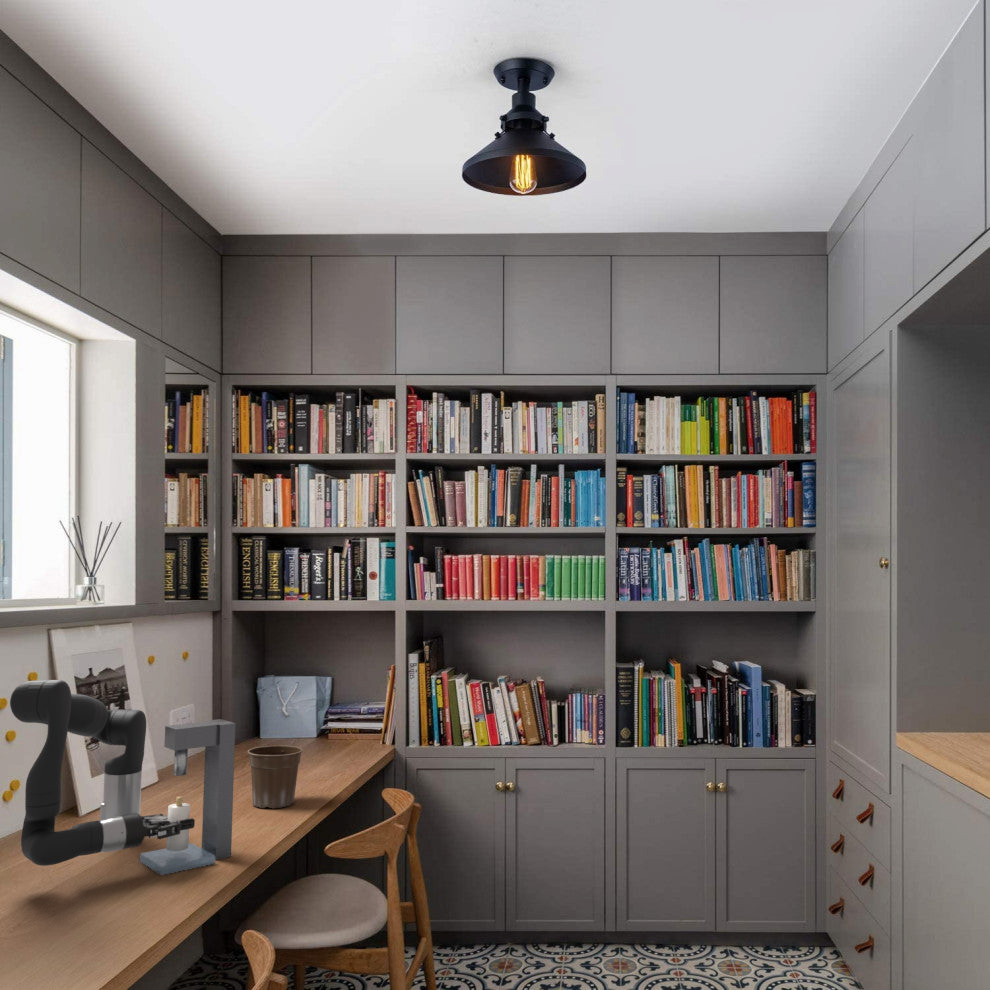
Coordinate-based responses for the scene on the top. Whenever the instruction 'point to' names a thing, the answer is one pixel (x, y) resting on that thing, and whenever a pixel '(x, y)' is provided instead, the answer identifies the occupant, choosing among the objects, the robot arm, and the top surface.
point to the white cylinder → (181, 840)
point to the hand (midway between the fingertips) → (188, 820)
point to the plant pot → (274, 775)
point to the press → (216, 794)
